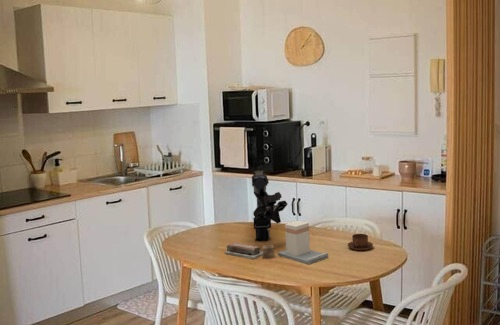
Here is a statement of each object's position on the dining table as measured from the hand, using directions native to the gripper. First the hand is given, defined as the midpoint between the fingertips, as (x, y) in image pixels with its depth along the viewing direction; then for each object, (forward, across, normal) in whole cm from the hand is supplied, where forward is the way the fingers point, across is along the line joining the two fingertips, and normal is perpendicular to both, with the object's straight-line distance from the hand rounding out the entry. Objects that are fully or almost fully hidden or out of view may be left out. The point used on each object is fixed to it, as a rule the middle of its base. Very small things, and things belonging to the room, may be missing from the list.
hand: (279, 222), depth 277 cm
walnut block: (+12, -11, +7) cm, 18 cm away
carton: (+17, 0, 0) cm, 17 cm away
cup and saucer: (+29, +27, -9) cm, 41 cm away
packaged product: (+4, -16, +16) cm, 23 cm away
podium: (+20, 0, -1) cm, 20 cm away
